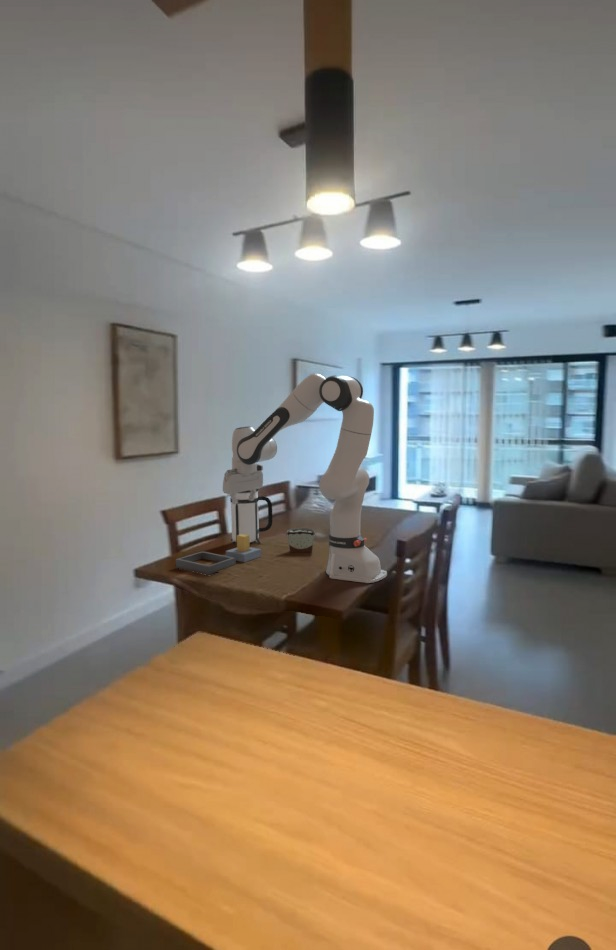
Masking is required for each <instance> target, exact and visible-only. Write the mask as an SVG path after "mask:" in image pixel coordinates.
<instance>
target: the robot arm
mask: <svg viewBox="0 0 616 950" xmlns="http://www.w3.org/2000/svg"><path fill="white" fill-rule="evenodd" d="M363 393H364V388H363V386H362V383H361V382H360V381H359V379H357V378H355V377H352V376H348V375H346V374H345V375H344V374H343V375H342V374H340V375H330V376H328V377H325V376H323V375H322V374H320V373H315V372H314V373H311V374H309V375H308V376H306V377H305V378H304V379H303V380H302V381H301V382H299V384H298V385H296V387H295V388H294V389H293V390H292V391H291V393H290V394H289V395H288V396H287V397H285V399H284V401H282V402H281V404H280V405H279V406H278V407H277V408H276V409H275V410H274V411H273V412H272V413H271V414H270V415H269V416H268V417H267V418H266V419H265V420H264V421H263V422H262V423H261V424H260V425H259V426H258V427H257V428H256V429H255V428H254V427H253V426H249V425H248V426H241V427H236V428H235V429H234V430H233V433H232V440H231V451H232V457H231V469H227V470H226V471H225V473H224V476H223V480H222V481H223V482H222V492H223V493H224V494H230V496H229V497H230V498H232V503H233V504H238V499H236V493H238V492H243V491H248V490H250V491H251V493H250V496H248V500H250V501H252V500H254V495H255V493H256V489H261V488H263V485H264V473H263V470H264V467H263V465H261V464H259V463H260V462H264V461H269V460H271V459H274V457H275V456H276V455H277V452H278V446H277V442H276V441H275V439H274V437H275V436H276V435H277V434H278V433H279V432H280V431H282V430H284V429H286V428H288V427H291V426H294V425H297V424H301V423H303V422H305V421H307V419H309V418H310V417H311V416H312V415H313V414H314V413H315V412H316V411H317V410H318V408H319V407H320V406H321V405H322V404H324V403H325V404H326V405H327V406H329V407H331V408H333V409H334V410H335V411H337V412H341V413H342V421H341V424H340V425H341V426H340V430H339V435H338V439H337V444H336V446H335V447H336V448H335V451H334V454H333V456H332V458H331V460H330V462H329V465H328V467H327V468H326V471H324V474H322V476H321V477H320V480H319V481H318V482H319V484H318V487H319V491H320V493H321V495H322V496H323V497H324V498H325V499H328V500H333V501H334V504H333V508H332V509H331V511H330V514H329V530H330V531H329V534H328V546H329V555H328V562H327V566H326V571H325V572H326V574H327V575H328V576H329V578H330V579H331V580H332V579H333V580H340V581H349V582H350V581H351V582H355V583H356V582H357V583H364V584H370V583H377V582H379V581H381V580H383V579H384V578H386V577H387V576H388V572H387V570H384V569H382V567H381V566H382V565H381V561H380V559H379V557H378V556H377V555H376V554H375V553H374V552H373V551H372V550H370V549H369V548H368V547H367V546H366V545H365V544H366V543H365V542H366V541H367V537H363V536H362V534H361V516H362V515H361V514H362V508H363V502H364V500H365V499H364V498H365V494H366V491H367V488H368V486H369V485H370V475H369V473H368V471H367V470H366V469H365V468H363V467H360V466H361V464H362V463H363V461H364V459H366V457H367V455H368V450H369V447H370V446H369V445H370V442H371V437H372V432H373V427H374V416H375V415H374V414H375V408H374V405H373V404H372V403H371V402H370V401H369V400H366V399H362V397H363V395H364V394H363Z"/></svg>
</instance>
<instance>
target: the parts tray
mask: <svg viewBox="0 0 616 950" xmlns="http://www.w3.org/2000/svg"><path fill="white" fill-rule="evenodd" d="M203 559H204V560H208V561H213V562H215V563H212V564H210V565H209V564H205V563H199V562H196V561H199V560H203ZM236 564H237V563H236V558H233V557H229V556H226V555H223V554H218V553H213V552H209V551H204V550H202V551H199V552H195V553H193V554H188V555H186V556H182V557H179V558H176V559H175V569H178V568H179V569H178V570H182V569H184V570H183V571H186V570H189V571H188V572H190V571H194V572H193V573H195V572H198V573H197V574H199V573H202V574H201V575H203V574H206V575H205V576H207V575H211V576H213V575H212V574H214V575H216V574H215V573H217V574H219V573H220V572H219V571H220V570H224V569H226V568H229V567H232V566H235V565H236Z"/></svg>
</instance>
